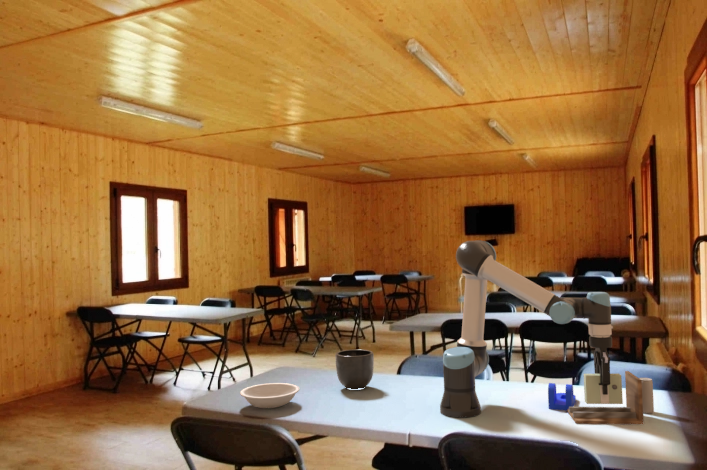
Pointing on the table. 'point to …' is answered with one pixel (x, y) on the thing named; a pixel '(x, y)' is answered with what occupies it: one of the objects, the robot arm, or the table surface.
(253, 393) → the soup bowl
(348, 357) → the planter
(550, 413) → the table surface
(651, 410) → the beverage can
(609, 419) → the wooden l-shaped piece
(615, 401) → the door panel
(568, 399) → the bracket
